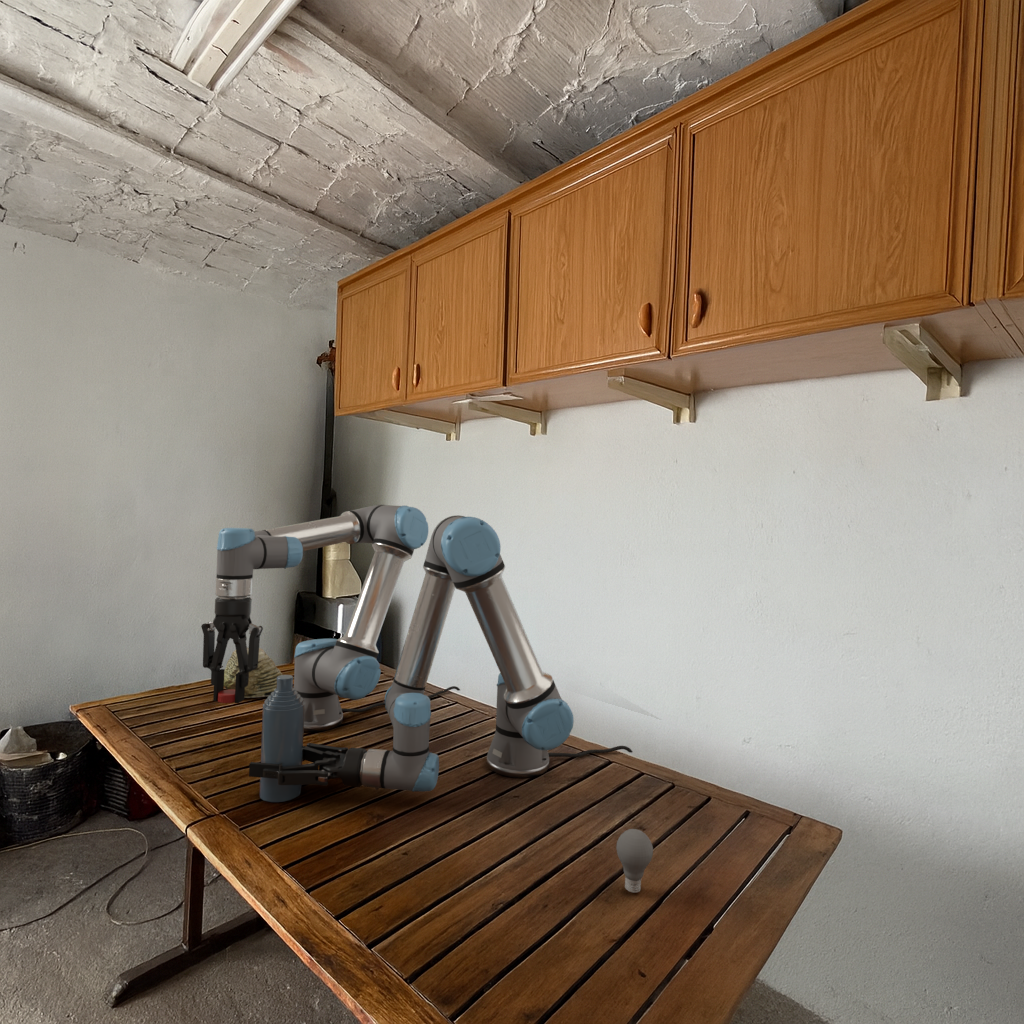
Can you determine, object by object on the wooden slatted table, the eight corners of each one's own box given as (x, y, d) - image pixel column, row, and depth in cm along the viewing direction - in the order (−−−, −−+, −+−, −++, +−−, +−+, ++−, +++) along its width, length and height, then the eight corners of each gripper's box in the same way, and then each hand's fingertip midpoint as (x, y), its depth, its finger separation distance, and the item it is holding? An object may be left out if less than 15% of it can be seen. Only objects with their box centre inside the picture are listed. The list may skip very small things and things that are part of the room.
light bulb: (610, 879, 108) (613, 822, 108) (644, 879, 109) (647, 822, 109) (619, 902, 102) (622, 840, 102) (655, 901, 103) (658, 840, 103)
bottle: (250, 797, 132) (254, 679, 132) (277, 781, 140) (281, 669, 140) (283, 805, 129) (288, 684, 129) (309, 788, 137) (313, 674, 137)
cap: (220, 704, 139) (220, 696, 139) (215, 698, 143) (215, 691, 143) (241, 701, 142) (242, 693, 142) (236, 695, 145) (236, 688, 145)
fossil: (218, 695, 195) (220, 647, 195) (278, 685, 208) (279, 640, 207) (228, 703, 189) (230, 653, 188) (289, 692, 201) (290, 645, 201)
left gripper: (187, 596, 139) (182, 702, 139) (261, 601, 137) (256, 709, 137) (207, 592, 147) (202, 692, 147) (278, 597, 145) (273, 698, 145)
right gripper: (347, 809, 123) (234, 801, 124) (377, 764, 144) (281, 757, 146) (349, 771, 123) (236, 763, 124) (379, 731, 144) (282, 725, 145)
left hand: (228, 700), depth 142 cm, fingers closed on cap, 4 cm apart
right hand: (260, 760), depth 135 cm, fingers closed on bottle, 8 cm apart
